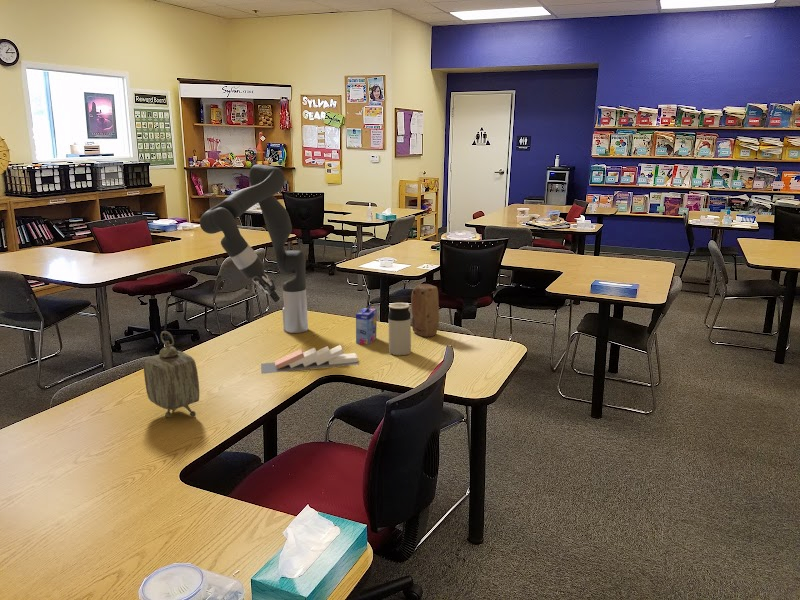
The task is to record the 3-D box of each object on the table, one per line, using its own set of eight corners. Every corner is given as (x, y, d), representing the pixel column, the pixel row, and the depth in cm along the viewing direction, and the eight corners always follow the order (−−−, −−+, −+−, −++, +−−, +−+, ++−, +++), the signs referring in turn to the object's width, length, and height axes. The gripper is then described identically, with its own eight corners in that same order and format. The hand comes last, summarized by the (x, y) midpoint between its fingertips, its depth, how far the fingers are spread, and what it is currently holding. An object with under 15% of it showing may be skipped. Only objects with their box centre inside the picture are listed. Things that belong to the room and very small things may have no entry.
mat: (261, 375, 208) (261, 373, 208) (261, 365, 218) (260, 363, 218) (359, 365, 215) (359, 364, 215) (354, 356, 225) (354, 355, 225)
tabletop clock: (202, 416, 177) (193, 332, 171) (172, 427, 171) (162, 340, 165) (176, 403, 187) (167, 323, 181) (147, 413, 180) (136, 330, 174)
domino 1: (275, 365, 211) (302, 353, 212) (274, 360, 216) (301, 348, 217) (277, 369, 212) (304, 357, 213) (276, 364, 216) (303, 352, 217)
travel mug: (407, 357, 223) (406, 308, 219) (386, 355, 226) (384, 307, 221) (413, 350, 230) (413, 303, 226) (393, 348, 233) (392, 301, 228)
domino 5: (328, 360, 215) (357, 357, 217) (327, 355, 220) (355, 353, 222) (329, 364, 215) (357, 361, 218) (327, 359, 220) (355, 357, 222)
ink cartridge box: (369, 345, 236) (368, 308, 233) (355, 344, 238) (354, 308, 234) (377, 338, 245) (376, 302, 242) (364, 337, 247) (363, 301, 243)
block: (440, 335, 247) (440, 286, 242) (426, 339, 243) (425, 289, 238) (423, 329, 256) (422, 281, 251) (408, 332, 251) (408, 284, 246)
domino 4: (315, 361, 214) (342, 349, 215) (314, 357, 219) (340, 344, 220) (317, 365, 215) (344, 353, 216) (316, 360, 219) (342, 348, 220)
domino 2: (289, 364, 212) (316, 351, 213) (288, 359, 217) (314, 347, 218) (291, 368, 213) (317, 355, 214) (290, 363, 217) (316, 351, 218)
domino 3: (302, 363, 213) (329, 350, 214) (301, 358, 218) (327, 346, 219) (304, 367, 214) (331, 354, 215) (303, 362, 218) (329, 349, 219)
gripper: (264, 255, 199) (294, 295, 207) (247, 252, 209) (276, 290, 218) (246, 270, 196) (277, 310, 205) (230, 266, 207) (260, 304, 215)
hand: (277, 300), depth 211 cm, fingers closed
